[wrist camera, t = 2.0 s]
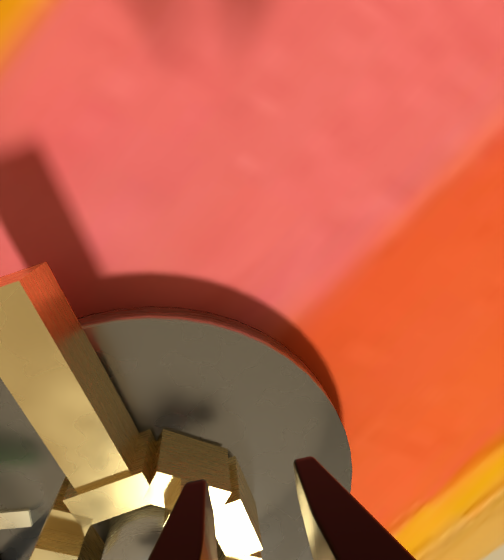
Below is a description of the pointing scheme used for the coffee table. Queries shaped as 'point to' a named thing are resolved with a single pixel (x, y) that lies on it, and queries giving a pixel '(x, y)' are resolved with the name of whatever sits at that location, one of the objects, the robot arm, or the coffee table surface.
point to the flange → (186, 425)
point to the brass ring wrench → (103, 433)
